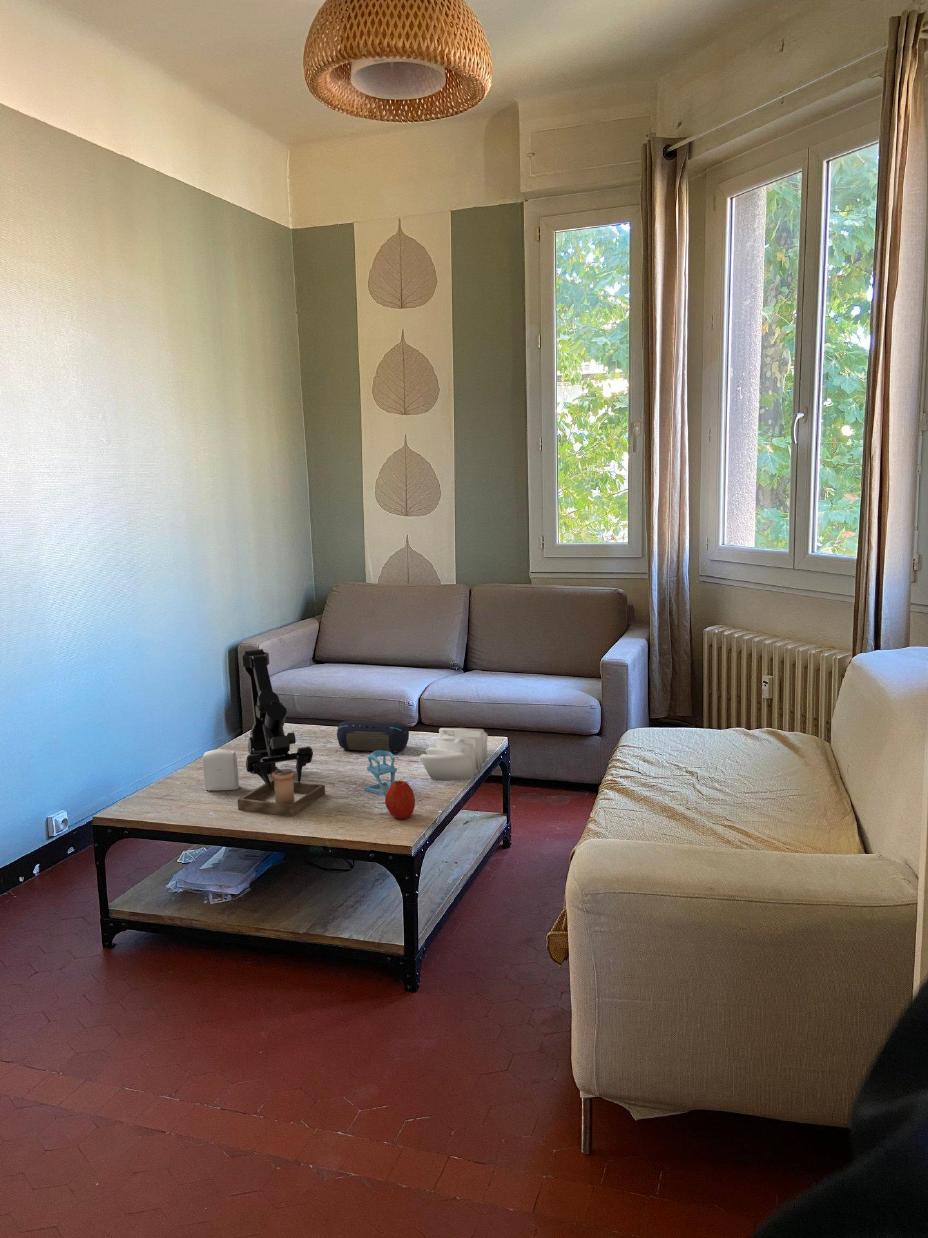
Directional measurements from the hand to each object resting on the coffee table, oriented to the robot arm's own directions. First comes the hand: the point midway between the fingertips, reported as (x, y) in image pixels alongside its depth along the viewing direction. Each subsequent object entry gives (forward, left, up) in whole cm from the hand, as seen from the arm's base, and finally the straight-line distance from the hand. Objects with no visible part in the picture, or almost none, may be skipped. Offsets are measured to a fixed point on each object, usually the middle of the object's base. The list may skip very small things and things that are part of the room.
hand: (284, 785), depth 254 cm
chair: (+21, +21, -7) cm, 30 cm away
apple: (+35, +4, -7) cm, 35 cm away
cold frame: (-3, +4, -7) cm, 8 cm away
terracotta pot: (-1, +1, -7) cm, 7 cm away
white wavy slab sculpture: (+34, +47, -7) cm, 58 cm away
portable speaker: (-1, +56, -7) cm, 56 cm away
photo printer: (-27, +8, -7) cm, 29 cm away
